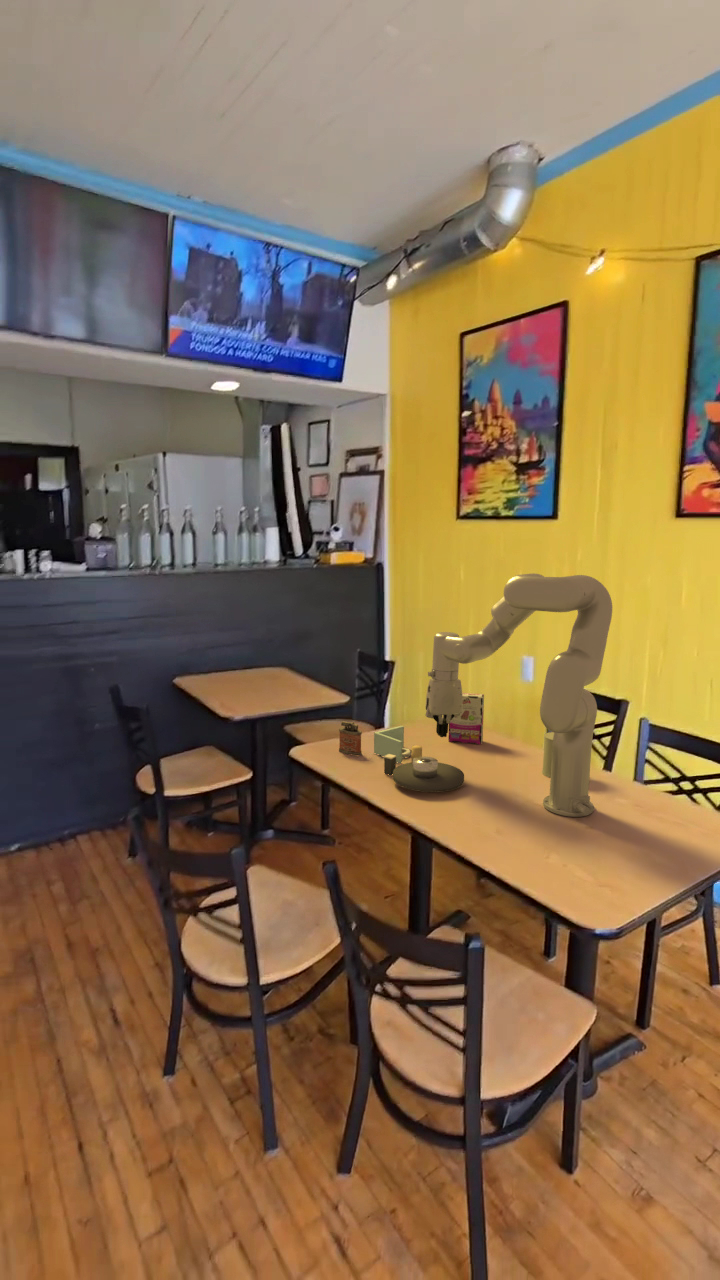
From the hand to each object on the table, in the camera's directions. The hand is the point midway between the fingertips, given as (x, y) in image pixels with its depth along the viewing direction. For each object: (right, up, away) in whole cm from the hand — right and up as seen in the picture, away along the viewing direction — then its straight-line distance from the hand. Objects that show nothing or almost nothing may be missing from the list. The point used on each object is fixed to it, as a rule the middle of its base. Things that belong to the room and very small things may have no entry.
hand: (441, 735), depth 201 cm
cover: (-6, -10, -9) cm, 15 cm away
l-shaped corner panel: (-11, -9, +17) cm, 22 cm away
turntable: (-5, -11, -8) cm, 15 cm away
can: (+34, -12, +1) cm, 36 cm away
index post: (-15, -11, -1) cm, 19 cm away
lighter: (-27, -8, +18) cm, 34 cm away
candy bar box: (+12, -6, +31) cm, 33 cm away
